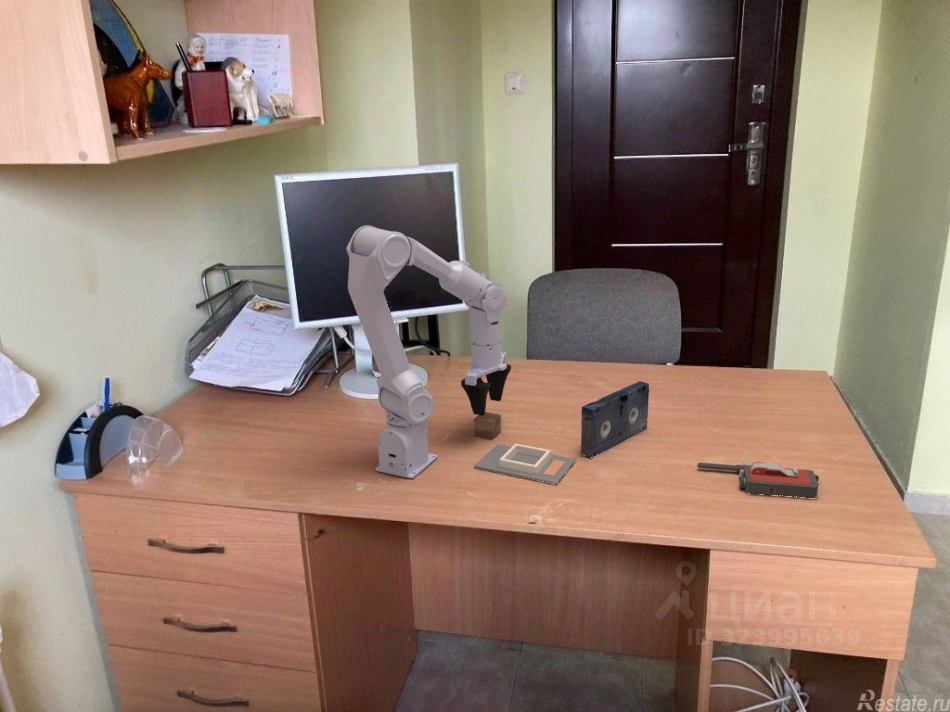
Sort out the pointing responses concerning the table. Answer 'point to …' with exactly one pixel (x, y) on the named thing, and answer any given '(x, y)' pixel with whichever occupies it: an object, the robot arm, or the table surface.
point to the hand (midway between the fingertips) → (487, 407)
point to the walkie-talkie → (772, 479)
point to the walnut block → (487, 426)
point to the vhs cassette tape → (614, 419)
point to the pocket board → (526, 462)
